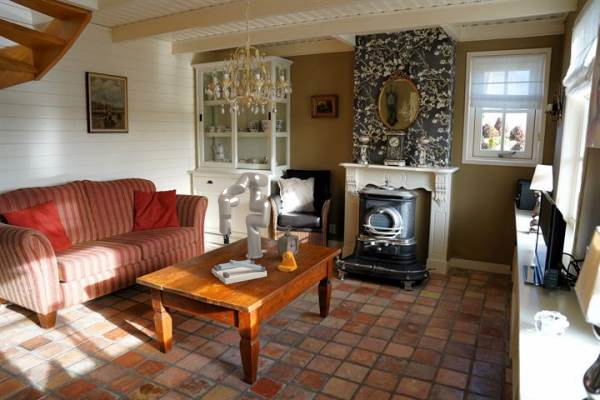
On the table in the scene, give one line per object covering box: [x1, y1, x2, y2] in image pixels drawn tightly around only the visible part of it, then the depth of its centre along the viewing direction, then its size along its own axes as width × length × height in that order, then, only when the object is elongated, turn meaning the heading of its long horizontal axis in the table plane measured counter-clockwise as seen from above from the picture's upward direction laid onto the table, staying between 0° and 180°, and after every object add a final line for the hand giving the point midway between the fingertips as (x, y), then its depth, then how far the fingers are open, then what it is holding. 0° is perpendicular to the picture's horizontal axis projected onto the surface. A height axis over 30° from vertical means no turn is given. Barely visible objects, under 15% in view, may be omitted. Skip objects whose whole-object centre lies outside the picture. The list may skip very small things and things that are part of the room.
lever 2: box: [228, 259, 263, 271], centre depth 287 cm, size 22×5×2 cm, turn 121°
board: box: [211, 257, 268, 285], centre depth 293 cm, size 28×24×6 cm
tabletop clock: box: [276, 224, 300, 259], centre depth 324 cm, size 14×9×25 cm, turn 143°
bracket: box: [277, 251, 298, 273], centre depth 302 cm, size 11×7×12 cm, turn 62°
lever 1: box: [217, 259, 252, 270], centre depth 300 cm, size 22×5×2 cm, turn 121°
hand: (226, 244), depth 295 cm, fingers closed
